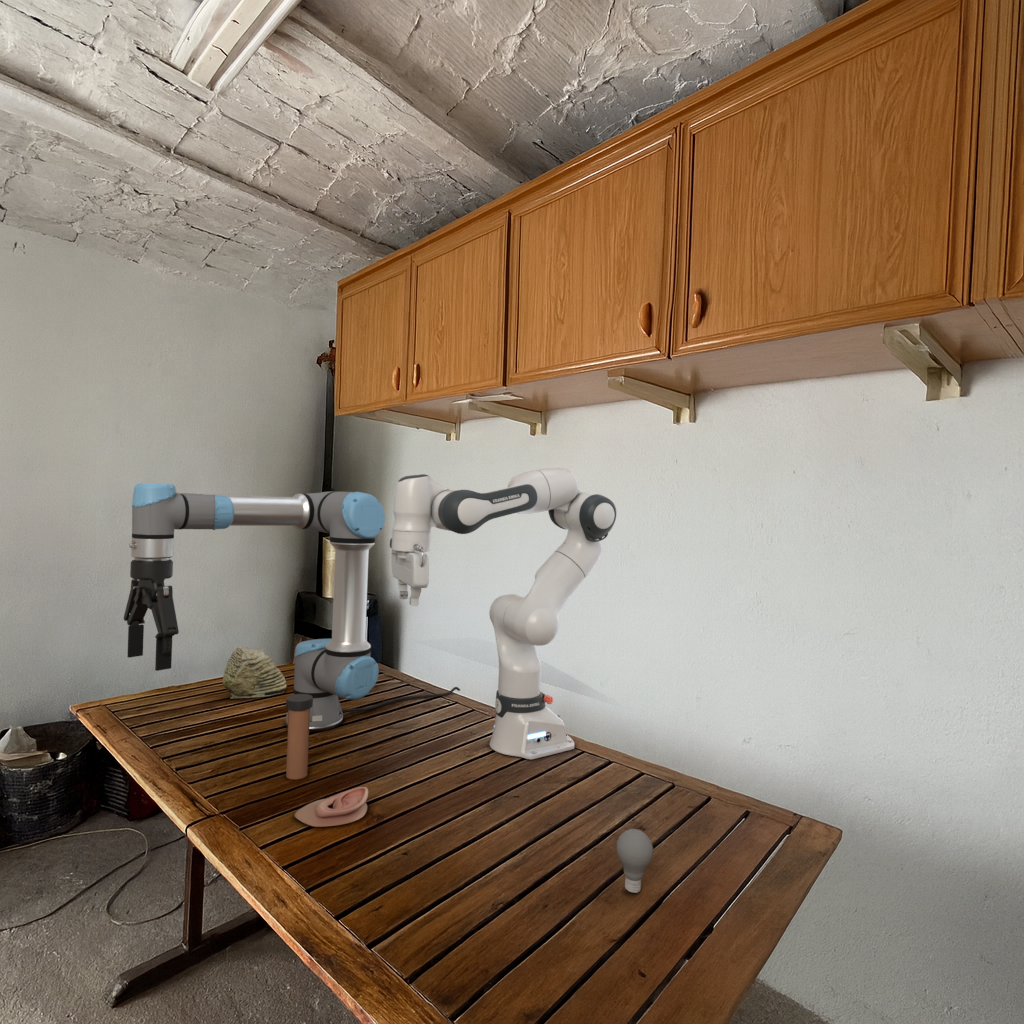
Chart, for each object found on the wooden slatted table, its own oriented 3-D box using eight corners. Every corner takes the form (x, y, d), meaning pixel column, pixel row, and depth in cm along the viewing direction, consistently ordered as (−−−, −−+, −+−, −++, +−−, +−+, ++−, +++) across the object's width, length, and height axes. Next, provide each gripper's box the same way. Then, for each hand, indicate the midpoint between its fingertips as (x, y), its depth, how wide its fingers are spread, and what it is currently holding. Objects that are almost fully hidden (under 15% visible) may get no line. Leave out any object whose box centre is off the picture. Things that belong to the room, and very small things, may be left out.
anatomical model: (286, 802, 122) (316, 777, 134) (285, 822, 122) (315, 795, 134) (350, 811, 120) (375, 785, 131) (349, 832, 120) (374, 804, 131)
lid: (282, 704, 144) (283, 695, 144) (308, 701, 147) (308, 692, 147) (290, 712, 139) (290, 703, 139) (316, 708, 143) (316, 699, 143)
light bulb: (610, 879, 108) (613, 822, 108) (644, 879, 109) (647, 822, 109) (619, 902, 102) (622, 840, 102) (655, 901, 103) (658, 840, 103)
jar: (283, 773, 144) (286, 698, 144) (303, 769, 147) (306, 695, 146) (289, 781, 140) (292, 704, 140) (310, 776, 143) (313, 700, 143)
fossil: (218, 695, 195) (220, 647, 195) (278, 685, 208) (279, 640, 207) (228, 703, 189) (230, 653, 188) (289, 692, 201) (290, 645, 201)
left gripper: (108, 554, 134) (104, 654, 134) (159, 565, 118) (155, 678, 119) (146, 552, 140) (143, 648, 140) (199, 563, 124) (195, 671, 124)
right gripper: (437, 547, 140) (434, 609, 140) (412, 540, 159) (410, 595, 159) (409, 546, 138) (406, 610, 138) (387, 539, 156) (385, 595, 157)
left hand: (148, 662), depth 129 cm, fingers open, 13 cm apart
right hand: (408, 602), depth 149 cm, fingers open, 8 cm apart
